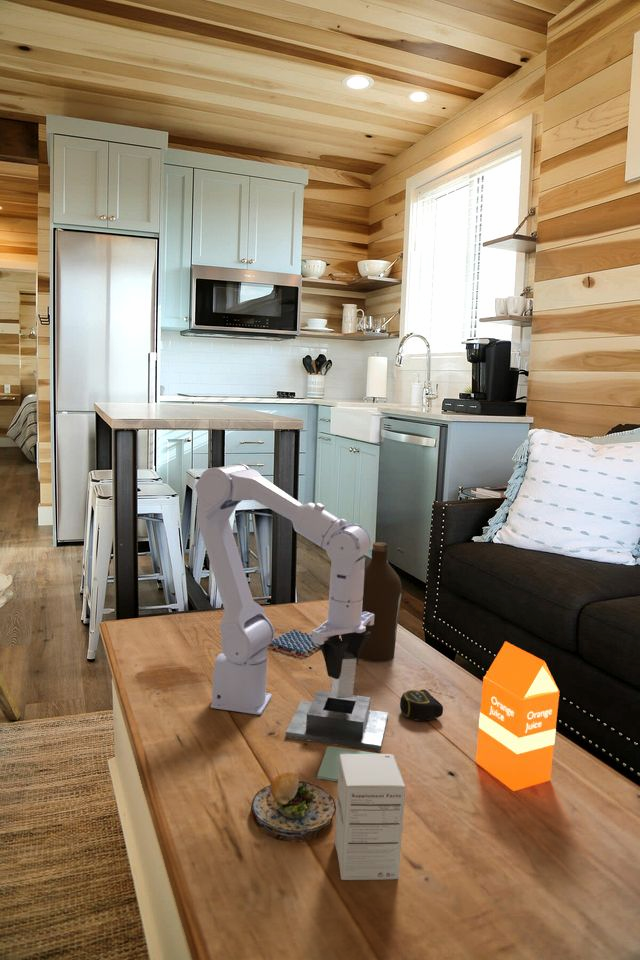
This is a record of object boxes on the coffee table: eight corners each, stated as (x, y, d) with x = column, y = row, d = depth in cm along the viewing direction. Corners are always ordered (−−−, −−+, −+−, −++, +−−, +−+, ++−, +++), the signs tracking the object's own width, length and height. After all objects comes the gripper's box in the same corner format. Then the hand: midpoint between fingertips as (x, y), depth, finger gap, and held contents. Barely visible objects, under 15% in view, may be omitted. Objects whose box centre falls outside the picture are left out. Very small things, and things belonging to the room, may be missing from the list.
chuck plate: (285, 737, 119) (286, 714, 118) (301, 705, 130) (302, 685, 130) (380, 751, 116) (381, 728, 115) (387, 717, 127) (389, 696, 127)
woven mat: (264, 649, 157) (265, 640, 157) (291, 636, 166) (292, 628, 166) (303, 661, 152) (304, 652, 151) (329, 647, 161) (330, 638, 160)
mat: (317, 778, 107) (317, 775, 107) (327, 748, 116) (327, 746, 116) (376, 787, 105) (376, 784, 105) (382, 756, 114) (382, 754, 114)
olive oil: (356, 664, 150) (363, 549, 147) (343, 645, 161) (350, 538, 157) (403, 662, 153) (411, 549, 149) (388, 643, 163) (395, 538, 159)
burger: (327, 850, 91) (330, 797, 90) (239, 835, 93) (241, 783, 92) (341, 797, 103) (344, 749, 102) (263, 785, 105) (265, 738, 104)
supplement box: (333, 842, 93) (338, 752, 91) (388, 841, 93) (395, 752, 91) (339, 882, 85) (345, 785, 84) (399, 881, 86) (407, 785, 84)
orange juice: (513, 791, 106) (525, 665, 103) (474, 762, 114) (485, 643, 111) (551, 780, 110) (564, 657, 107) (511, 752, 118) (522, 637, 115)
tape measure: (443, 722, 127) (445, 703, 126) (408, 726, 125) (410, 706, 124) (427, 705, 133) (428, 686, 133) (393, 708, 131) (394, 689, 131)
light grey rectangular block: (337, 698, 120) (341, 659, 119) (331, 690, 123) (335, 652, 121) (352, 697, 121) (356, 658, 120) (346, 689, 124) (350, 651, 122)
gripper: (336, 612, 112) (332, 693, 114) (390, 594, 122) (385, 668, 124) (303, 601, 116) (299, 679, 118) (358, 584, 127) (353, 656, 129)
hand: (341, 673), depth 122 cm, fingers closed on light grey rectangular block, 4 cm apart
